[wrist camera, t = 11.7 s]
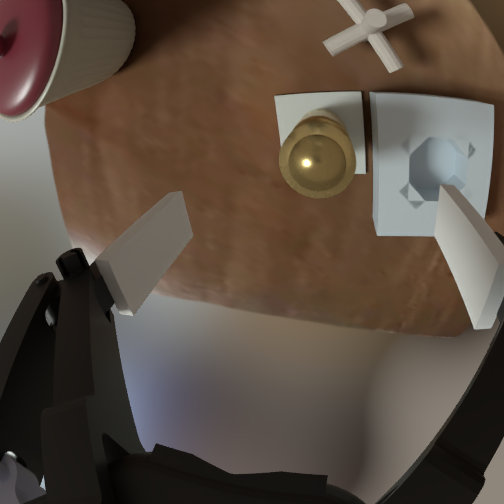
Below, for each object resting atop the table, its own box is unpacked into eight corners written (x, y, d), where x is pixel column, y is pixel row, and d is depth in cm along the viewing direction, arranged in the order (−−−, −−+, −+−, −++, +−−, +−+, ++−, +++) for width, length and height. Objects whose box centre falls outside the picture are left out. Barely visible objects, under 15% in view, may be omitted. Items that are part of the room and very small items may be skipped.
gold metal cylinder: (293, 110, 32) (273, 128, 21) (345, 108, 31) (354, 124, 19) (299, 159, 35) (282, 201, 24) (348, 157, 34) (357, 200, 22)
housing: (369, 91, 29) (375, 93, 25) (475, 100, 25) (494, 105, 21) (372, 217, 37) (377, 235, 33) (467, 218, 33) (480, 236, 29)
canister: (153, 95, 35) (26, 130, 18) (63, 100, 38) (-44, 138, 20) (164, -26, 25) (44, -62, 8) (69, 0, 28) (-41, 5, 10)
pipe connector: (421, 54, 25) (452, 48, 17) (352, 89, 29) (360, 91, 21) (372, -15, 21) (385, -45, 13) (302, 20, 26) (291, -2, 18)
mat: (274, 95, 32) (274, 96, 32) (360, 91, 29) (361, 91, 29) (285, 174, 37) (284, 175, 37) (365, 172, 34) (365, 173, 34)
